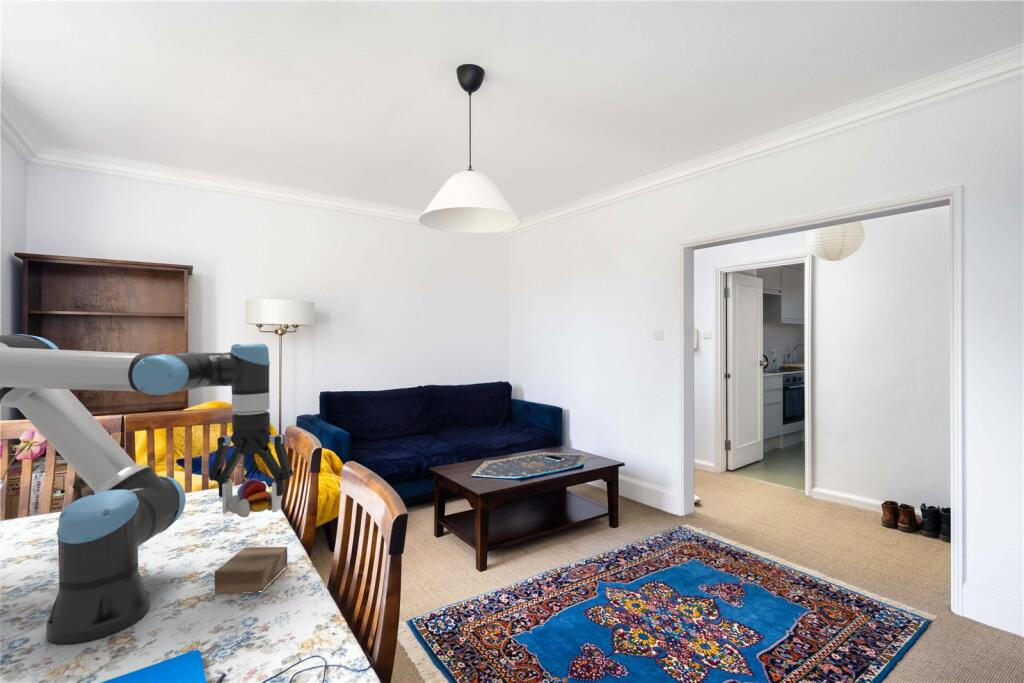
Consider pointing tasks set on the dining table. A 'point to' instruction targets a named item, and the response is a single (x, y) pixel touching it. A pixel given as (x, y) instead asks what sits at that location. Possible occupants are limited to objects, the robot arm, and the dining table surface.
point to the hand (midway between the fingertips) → (252, 510)
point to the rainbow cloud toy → (250, 498)
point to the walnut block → (250, 570)
